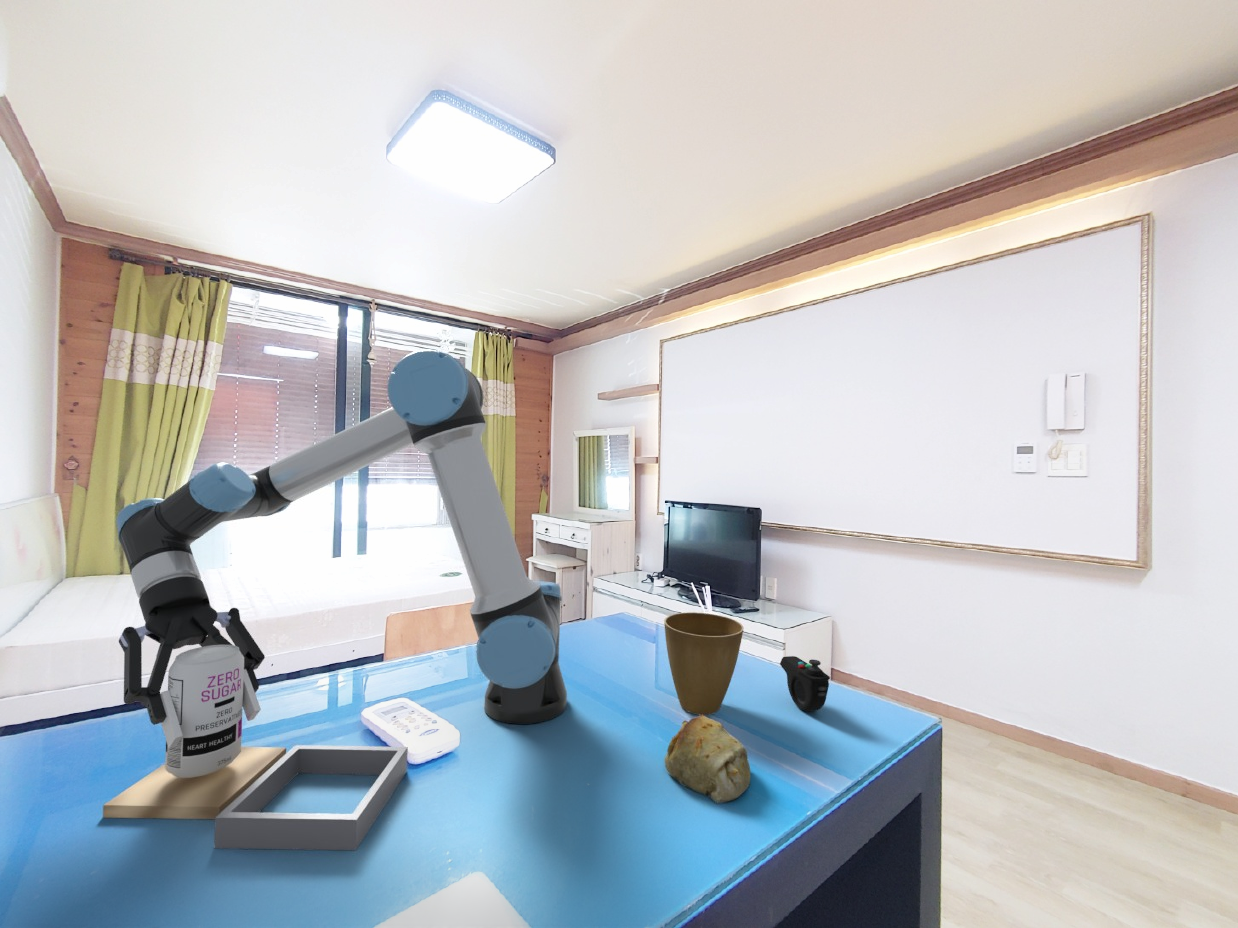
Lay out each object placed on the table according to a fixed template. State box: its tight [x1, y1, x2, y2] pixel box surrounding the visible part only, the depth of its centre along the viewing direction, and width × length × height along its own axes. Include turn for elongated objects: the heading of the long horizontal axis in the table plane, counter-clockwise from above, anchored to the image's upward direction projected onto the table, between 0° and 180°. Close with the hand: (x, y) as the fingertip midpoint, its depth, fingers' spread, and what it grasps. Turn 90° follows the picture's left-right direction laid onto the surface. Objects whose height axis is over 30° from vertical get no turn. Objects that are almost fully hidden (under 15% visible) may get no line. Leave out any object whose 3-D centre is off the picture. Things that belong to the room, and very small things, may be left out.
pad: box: [102, 746, 287, 820], centre depth 73 cm, size 14×14×2 cm
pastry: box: [664, 715, 752, 804], centre depth 80 cm, size 14×12×8 cm
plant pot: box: [663, 611, 744, 716], centre depth 102 cm, size 15×15×16 cm
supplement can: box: [164, 644, 244, 778], centre depth 73 cm, size 8×8×15 cm
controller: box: [779, 655, 831, 712], centre depth 104 cm, size 4×12×10 cm, turn 13°
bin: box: [213, 744, 409, 851], centre depth 70 cm, size 16×16×4 cm
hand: (217, 727), depth 71 cm, fingers open, 8 cm apart
